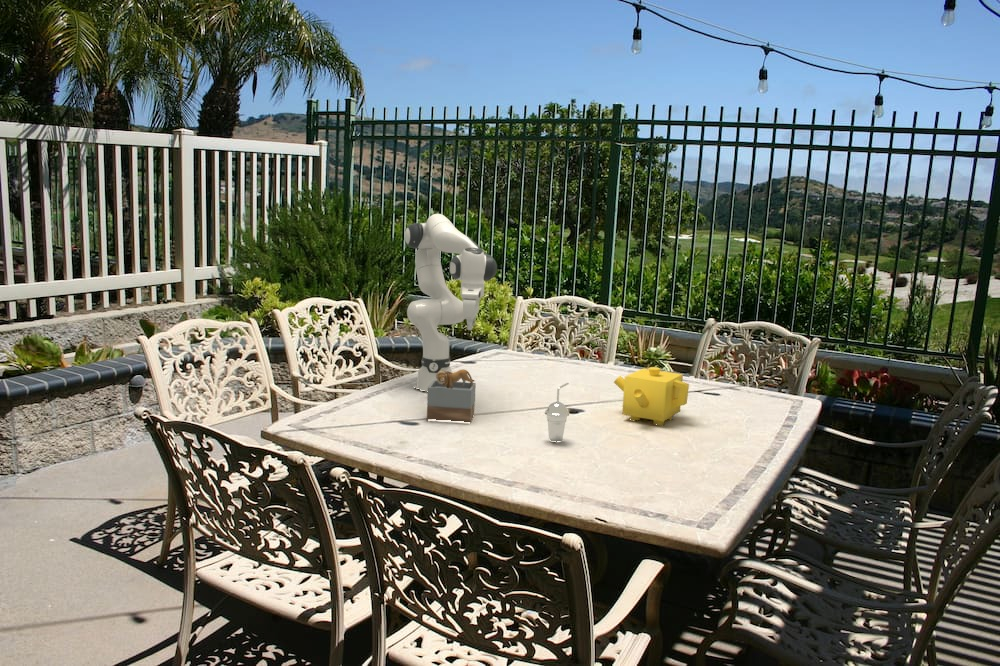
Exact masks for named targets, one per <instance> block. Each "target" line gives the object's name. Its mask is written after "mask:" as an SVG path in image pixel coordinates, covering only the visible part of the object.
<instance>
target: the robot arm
mask: <svg viewBox="0 0 1000 666" xmlns="http://www.w3.org/2000/svg"><path fill="white" fill-rule="evenodd" d="M404 242H405V244H406V245H407V247H408V248H410V249H411V248H412V249H417V250H416V251H415V254H414V255H415V258H414V260H415V261H414V263H415V273H416V275H417V276H416V277H417V283H418V288H419V290H420V291H421V292H422V293H423V294H425V295H427V296H428V297H430V298H422V299H417V300H412V301H411V302H410V303H409V305H408V306H407V310H406V316H407V319H408V320H409V322H410V323H411V324H412V325H414V327H416V328H417V330H418V331H419V333H420V335H421V339H422V356H421V367H420V368H418V370H417V381H416V384H415V385H413V386H412V387H415V388H419V389H421V390H425V391H428V387H429V386H430V384H431V383H432V382H433V381H434V380H435V381H437V378H436V375H437V373H438V372H439V371H448V372H450V373H454V372H453V370H452V369H451V357H450V338H448V336H446V334H444V333H441V332H439V330H438V326H442V325H443V326H445V325H448V326H450V325H456V324H459V323H462V322H464V320H466V330H468V331H472V330H473V327H475V326H476V318H477V314H479V311H480V302H481V298H484V296H485V282H489V281H491V280H492V279H493V278H494V277H495V276H496V274H497V271H498V264H497V262H496V260H495V258H494V257H493V256H492V255H491V254H488V253H486V252H485V251H484V250H483V248H482V247H480V246H479V245H478V244H477V243H476V241H474V240H473V239H472V238H471V237H469V236H467V235H466V234H464V233H462V232H461V231H460V230H458V229H457V228H456V227H455V225H454V224H453V223H452V222H451V221H450V219H449V218H448V217H446V216H445V215H444V214H441V213H433V214H432V215H430V216H429V217H428V218H427V220H426V222H414V223H410V224H408V225H407V226H406V228H405V230H404ZM441 252H442V253H448V254H458V255H454V256H453V257H452V258H451V260H450V261H449V265H448V266H449V267H448V269H449V270H448V271H449V274H450V276H451V278H453V279H454V280H457V281H461V282H460V296H461V299H462V300H461V299H459V298H458V297H457V296H455V295H454V294H453V293H452V292H451V290H450V288H449V287H448V286H447V283H446V279H445V277H444V272H443V267H442V263H441V259H440V254H441Z"/></svg>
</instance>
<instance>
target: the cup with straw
mask: <svg viewBox="0 0 1000 666" xmlns="http://www.w3.org/2000/svg"><path fill="white" fill-rule="evenodd" d="M569 384H570V383H569V382H565V383H563V384H562V385H560V386H558V387H557V391H556V401H553V402H551V403H550V404H549V405H548V407H547V408H546V409H545V411H544V415H545V416H546V419H547V420H546V421H547V430H548V431H547V432H548V440H549V439H550V440H551V441H556V442H557V441H562V442H563V439H564V433H565V429H566V428H565V427H566V422H567V419H568V417H569V416H570V411H569V410H568V408H567V407H566V405H565V404H564V403H562V402H561V401H560V390H561V389H562V388H564V387H566V386H568V385H569Z"/></svg>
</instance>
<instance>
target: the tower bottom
mask: <svg viewBox="0 0 1000 666" xmlns="http://www.w3.org/2000/svg"><path fill="white" fill-rule="evenodd" d="M475 403H476V401H475V402H474V404H473V406H472V407H471V409H461V408H446V407H431V406H427V405H426V406H427V407H426V420H427V419H436V420H451V421H464V422H471V423H472V421H473V419H474V417H473V415H474V416H475V405H476V404H475ZM472 418H473V419H472ZM471 420H472V421H471Z"/></svg>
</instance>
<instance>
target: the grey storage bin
mask: <svg viewBox="0 0 1000 666" xmlns="http://www.w3.org/2000/svg"><path fill="white" fill-rule="evenodd" d="M462 383H463V381H457V382H454V383H453V384H452V387H453V389H450V388H447V387H446V386H444V385H442V384H439V383H438V381H435V380H434V381H433V382H432V383H431V384H430V386H429V387H428V393H427V397H426V398H427V402H426V406H431V407H446V408H461V409H471V407H472V406H473V404H474V402H475V403H476V386H477V384H476V382H473V386H470V384H471V382H468V381H466V382H465V384H464V385H463V386H461V384H462Z"/></svg>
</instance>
